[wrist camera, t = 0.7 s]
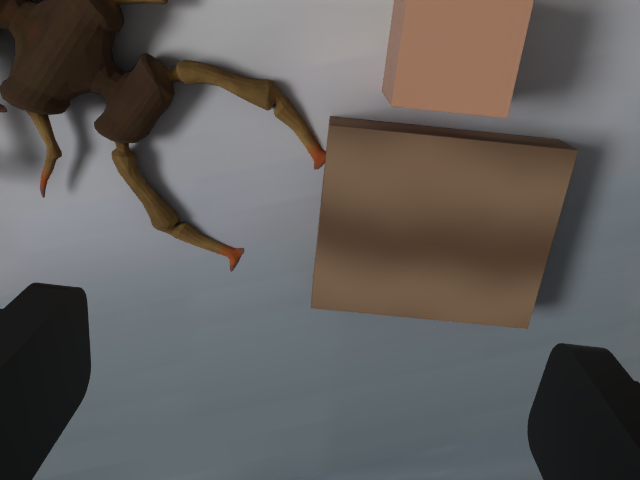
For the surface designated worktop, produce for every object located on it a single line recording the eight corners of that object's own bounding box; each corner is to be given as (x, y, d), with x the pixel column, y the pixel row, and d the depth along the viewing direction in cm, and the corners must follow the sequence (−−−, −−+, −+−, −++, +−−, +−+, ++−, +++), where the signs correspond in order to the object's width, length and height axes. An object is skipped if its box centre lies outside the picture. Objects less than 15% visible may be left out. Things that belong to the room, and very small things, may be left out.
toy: (438, 20, 30) (-127, -566, 20) (470, 31, 25) (-268, -748, 14) (166, 327, 38) (-337, 26, 27) (148, 383, 33) (-475, 39, 22)
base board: (329, 116, 28) (329, 125, 26) (558, 139, 28) (578, 150, 26) (312, 286, 32) (310, 307, 30) (513, 306, 32) (527, 328, 30)
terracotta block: (396, -17, 26) (409, -24, 21) (499, -6, 26) (536, -10, 21) (381, 91, 28) (391, 106, 23) (478, 101, 28) (507, 117, 23)
